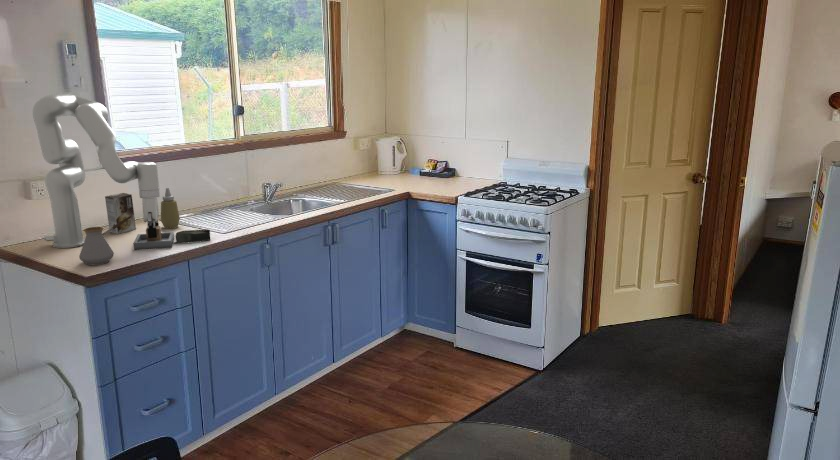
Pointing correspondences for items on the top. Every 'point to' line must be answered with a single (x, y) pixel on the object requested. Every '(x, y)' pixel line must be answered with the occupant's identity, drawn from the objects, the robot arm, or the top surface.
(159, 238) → the walnut block
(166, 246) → the tray
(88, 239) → the coffee pot
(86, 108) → the robot arm
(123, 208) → the coffee box
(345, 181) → the top surface
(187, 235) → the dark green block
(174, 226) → the squeeze bottle
